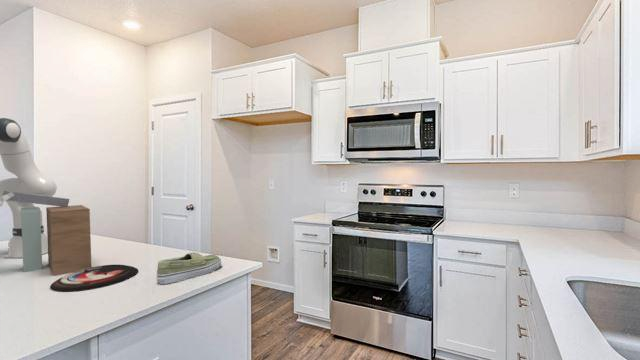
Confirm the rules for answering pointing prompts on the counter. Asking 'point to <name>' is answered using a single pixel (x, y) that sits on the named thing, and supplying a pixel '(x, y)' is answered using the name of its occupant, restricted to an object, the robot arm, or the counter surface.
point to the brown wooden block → (68, 239)
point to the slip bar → (37, 199)
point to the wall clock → (94, 278)
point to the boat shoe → (186, 267)
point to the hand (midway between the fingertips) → (13, 193)
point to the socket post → (31, 239)
